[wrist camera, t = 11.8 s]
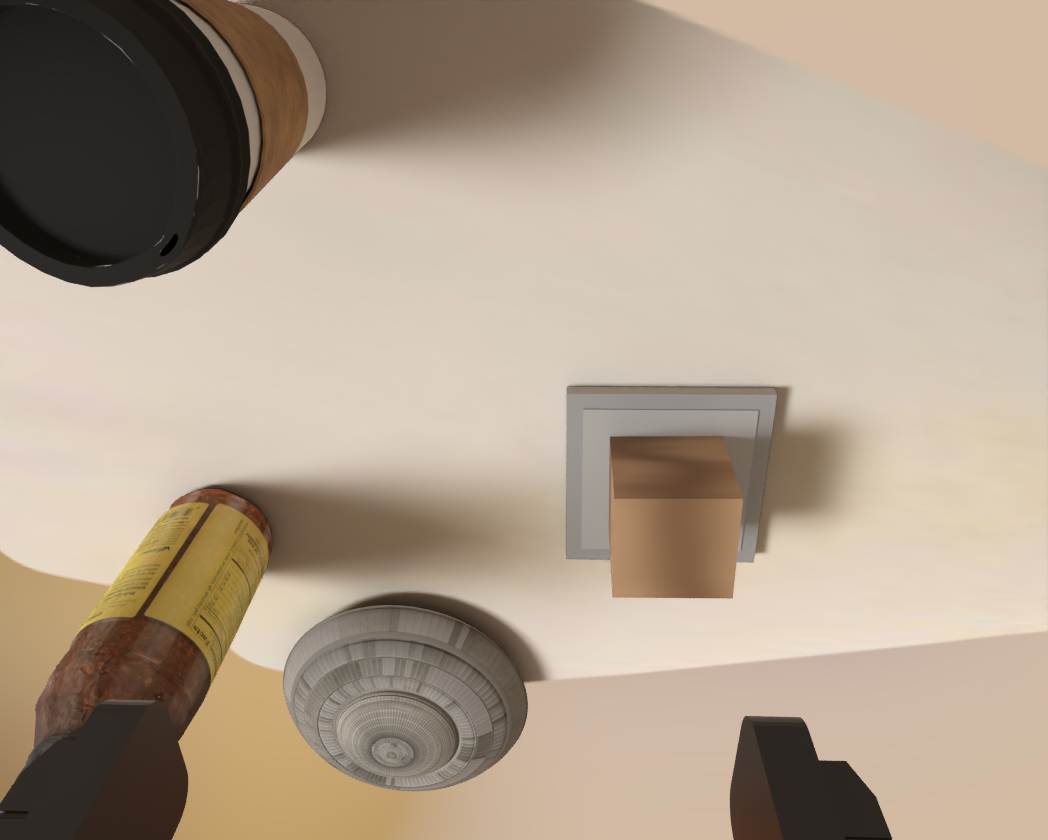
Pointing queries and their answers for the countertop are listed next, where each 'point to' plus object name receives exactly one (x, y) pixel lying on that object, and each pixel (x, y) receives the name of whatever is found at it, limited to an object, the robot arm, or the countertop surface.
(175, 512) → the sauce bottle
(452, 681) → the flying saucer
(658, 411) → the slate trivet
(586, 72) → the countertop surface
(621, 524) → the walnut cube
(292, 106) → the coffee cup
